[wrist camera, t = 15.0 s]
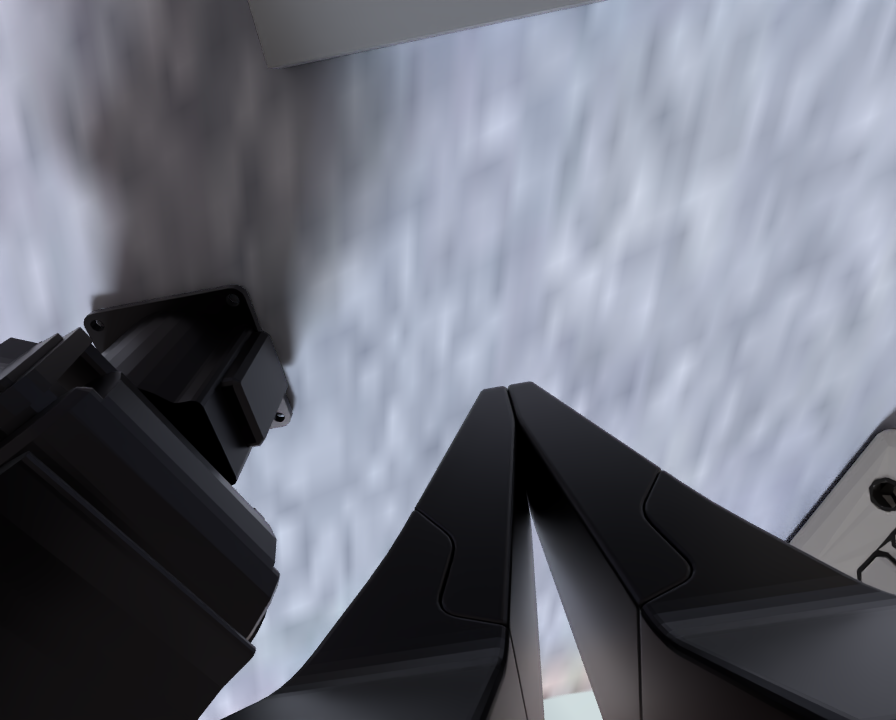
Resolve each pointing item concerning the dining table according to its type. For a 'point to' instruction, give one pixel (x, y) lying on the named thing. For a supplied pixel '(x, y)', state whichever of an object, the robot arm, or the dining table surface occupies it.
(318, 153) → the dining table surface
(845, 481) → the electrical switch
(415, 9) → the switch panel
